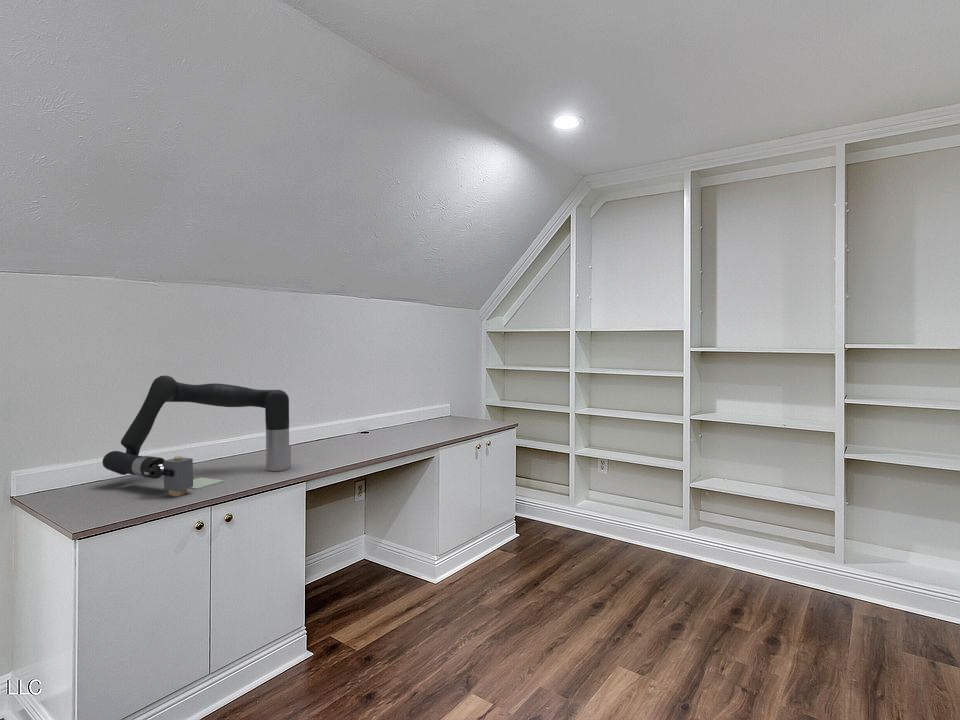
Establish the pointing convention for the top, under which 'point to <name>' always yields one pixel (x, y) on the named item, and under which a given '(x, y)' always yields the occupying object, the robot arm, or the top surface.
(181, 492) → the block
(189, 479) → the cover
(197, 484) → the mat
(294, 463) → the top surface
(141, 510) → the top surface
